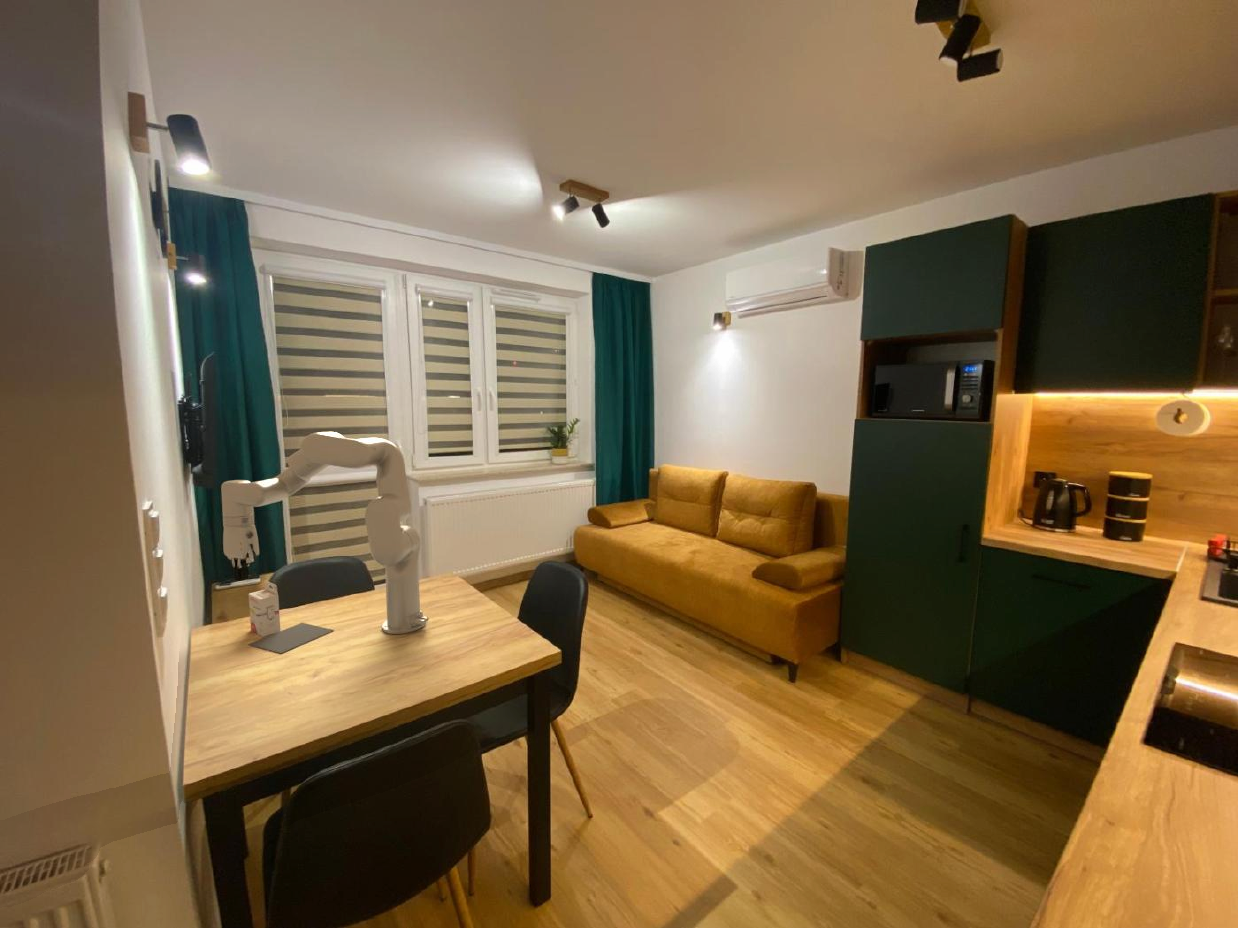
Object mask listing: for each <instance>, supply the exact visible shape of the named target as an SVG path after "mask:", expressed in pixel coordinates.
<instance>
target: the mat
mask: <svg viewBox="0 0 1238 928" xmlns="http://www.w3.org/2000/svg"><path fill="white" fill-rule="evenodd" d="M334 631H335V630H334V629H331V628H327V627H324V626H323V627H322V626H318V625H314V624H309V623H305V622H301V623H298V624H295V625H293V626H290V627H287V628H285V629H283V630H282V629H281V630H280V631H279V632H277V633H274V634H271V635H268V636H265V637H262V638H260V639H258V640H256V641H252V642H250V643H248V644H247V645H248V646H251V647H254V648H258V649H262V650H265V651H268V650H269V652H272V651H273V653H275V654H279V653H280V654H279V655H282V654H285V653H287V652H289V651H292V650H293V649H296V648H298V647H300V645H301V646H303V645H305V644H308V643H309V642H312V641H314V640H317V639H319V638H321V637H323V636H326V635H328V634H330V633H332V632H334ZM284 652H285V653H284Z"/></svg>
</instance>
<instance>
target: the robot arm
mask: <svg viewBox="0 0 1238 928" xmlns="http://www.w3.org/2000/svg"><path fill="white" fill-rule="evenodd" d="M299 446H300V447H299V450H297V451H295V452H293V453H292V454H291V455H290V456H289V457H288V459H287V465H288V467H287V468H286V469H285V470H284V471H282V472H280V473H279V474H278V475H276V476H274V477H272V478H266V479H263V480H256V481H252V482H251V481H250V480H246V479H234V480H227V481H224V482H223V483H222V484H221V487H220V488H221V492H220V493H221V505H222V508H221V509H222V525H223V537H222V545H223V546H222V547H223V554H224V556H226V557H227V559H228V560H230V561H231V565H232V567H233V576H234V577H233V580H234V581H238V582H240V581H243V580H247V579H249V577H250V576H249V567H250V564H251V563H253V562H255V559H254V557H258V556H259V555H260V546H259V545H260V544H259V537H258V532H257V528H256V525H255V512H254V510H255V509H254V507H255V508H257V507H258V508H259V507H263V506H267V505H270V504H274V503H278V502H281V501H284V500H286V499H288V498H289V497H291V496H292V495H294V494H295V493H297V492H298V491H300V490H301V489H303V488H304V487H305V486H306V485H307V484H308V483H309V481H311V479H312V478H313V477H315V476H316V475H317V474H319V473H320V472H322V471H323V470H324V469H325V470H326V468H328V467H329V466H332V467H339V468H346V469H353V470H354V469H356V470H357V469H364V468H368V467H372V466H374V467H376V477H375V481H376V482H375V483H376V488H377V497H375V498H373V499H372V500H370V502H369V503H368V504H367V507H366V508H365V513H364V515H365V516H364V519H365V527H366V534H367V539H368V545H369V551H370V554H371V557H372V558H373V559H374V561H375V562H376V563H377V564H379V565H380V566H384V567H385V574H384V575H385V597H386V599H385V600H386V620H385V621H384V622H383V623H382V624H381V630H382V631H383V632H384V633H386V634H390V635H400V634H401V635H402V634H409V633H411V632H415V631H418V630H420V629H421V628H423V627H425V626H426V625H427V623H428V622H429V619H430V618H429V617H427V616H423V615H424V614H423V613H424V612H423V610H421V600H420V551H421V538H420V533H418V531H417V530H416V529H415V528H414V527H412V526H410V525H401V522H404V521H405V520H407V519H408V518H409V517H410V515H411V513H412V504H411V503H412V502H411V501H412V500H411V496H410V490H409V483H408V479H407V473H406V472H407V471H406V464H405V459H404V456H403V454H402V452H401V450H400V448H399V447H398V446H397V445H396V444H394V443H393V442H391V441H389V440H387V439H384V438H379V437H364V438H347V437H345V436H344V435H342V434H340V433H338V432H337V431H335V432H334V431H321V432H313V433H310V434H308V435H307V436H305V437H304V438H303V439H302V441H301V443H300V445H299Z"/></svg>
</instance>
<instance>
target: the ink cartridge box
mask: <svg viewBox="0 0 1238 928" xmlns="http://www.w3.org/2000/svg"><path fill="white" fill-rule="evenodd" d="M263 582H264V588H265V589H261V590H258V591H254V592H250V593H248V604H249V606H248V607H249V617H250V618H249V619H250V630H251V631H252V632H254V633H255V634H258V635H259V636H260V637H262V638H265V637H267V636H270V635H272V634H275V633H277V632H280V631H281V619H280V618H281V616H280V603H279V594H278V586H277V585H276V584H275V583H272V582H270V581H268V580H266V579H265V580H264V581H263Z"/></svg>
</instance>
